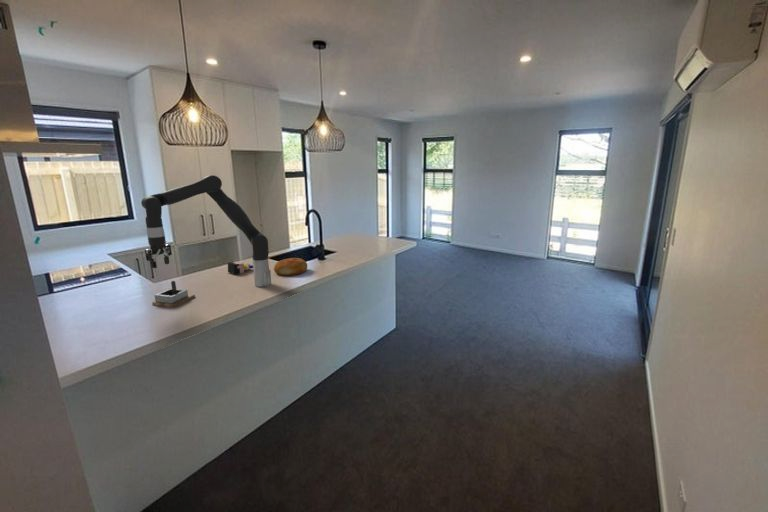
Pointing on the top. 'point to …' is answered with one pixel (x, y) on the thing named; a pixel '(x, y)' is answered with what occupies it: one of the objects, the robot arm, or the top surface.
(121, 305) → the top surface
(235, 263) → the toy
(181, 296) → the link
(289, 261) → the bread
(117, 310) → the top surface
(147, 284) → the top surface
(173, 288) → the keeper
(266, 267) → the robot arm
